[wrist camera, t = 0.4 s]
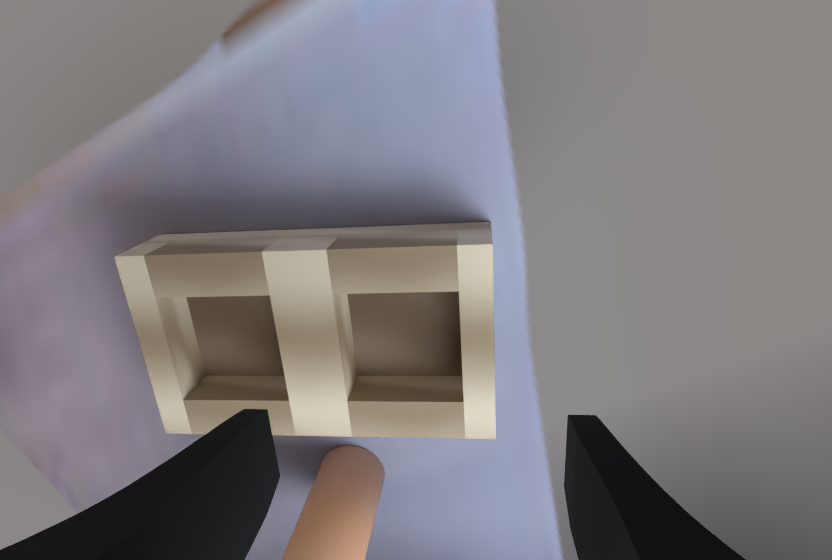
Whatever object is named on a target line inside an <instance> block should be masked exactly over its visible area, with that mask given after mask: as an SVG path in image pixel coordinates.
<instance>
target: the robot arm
mask: <svg viewBox="0 0 832 560" xmlns="http://www.w3.org/2000/svg"><path fill="white" fill-rule="evenodd" d="M279 478H280V473H279V468H278V463H277V457H276V452H275V447H274V442H273V436H272V431H271V426H270V420H269V415H268V410H267V409H243V410H241V411H240V412H238V413H236V414H235V415H233V416H232V417H230V418H229V419H227V420H226V421H224V422H223V423H221V424H220V425H218V426H217V427H216V428H214V429H213V430H211V431H210V432H208V433H207V434H206V435H204V436H203V437H201V438H200V439H198V440H197V441H195V442H194V443H193V444H191V445H190V446H188V447H187V448H185V449H184V450H182V451H181V452H180V453H178V454H177V455H175V456H174V457H172V458H171V459H169V460H168V461H166V462H165V463H163V464H161V465H160V466H158V467H157V468H155V469H154V470H152V471H150V472H149V473H147V474H146V475H144V476H143V477H141V478H140V479H138V480H136V481H135V482H133V483H132V484H130V485H128V486H127V487H125V488H123V489H122V490H120V491H118V492H117V493H115V494H113V495H111V496H110V497H108V498H106V499H104V500H102V501H101V502H99V503H97V504H95V505H93V506H91V507H90V508H88V509H86V510H84V511H82V512H80V513H78V514H76V515H74V516H73V517H70V518H68V519H66V520H64V521H62V522H60V523H58V524H56V525H54V526H52V527H50V528H47V529H45V530H43V531H41V532H39V533H37V534H35V535H33V536H31V537H29V538H27V539H24V540H22V541H20V542H18V543H16V544H13V545H11V546H8V547H6V548H4V549H1V550H0V560H244V559H245V557H246V556H247V554H248V552H249V550H250V548H251V546H252V544H253V542H254V540H255V538H256V536H257V534H258V532H259V530H260V528H261V526H262V523H263V521H264V519H265V517H266V515H267V512H268V510H269V507H270V504H271V501H272V499H273V496H274V493H275V490H276V487H277V484H278V481H279ZM564 489H565V495H566V501H567V509H568V515H569V521H570V528H571V532H572V536H573V540H574V544H575V547H576V551H577V555H578V559H579V560H745V559H744V558H743V557H741V556H740V555H739V554H737V553H736V552H735V551H733V550H732V549H731V548H730V547H728V546H727V545H726V544H725V543H723V542H722V541H721V540H720V539H718V538H717V537H716V536H715V535H713V534H712V533H711V532H710V531H709V530H707V529H706V528H705V527H703V526H702V525H701V524H700V523H699V522H698V521H697V520H695V519H694V518H693V517H692V516H691V515H690V514H689V513H687V512H686V511H685V510H684V509H683V508H682V507H681V506H680V505H679V504H678V503H677V502H676V501H675V500H674V499H673V498H671V497H670V496H669V495H668V494H667V493H666V492H665V491H664V490H663V489H662V488H661V487H660V486H659V485H658V484H657V483H656V482H655V481H654V480H653V479H652V478H651V477H650V475H649V474H648V473H647V472H646V471H645V470H644V469H643V468H642V467H641V466H640V465H639V464H638V463H637V462H636V461H635V460H634V458H633V457H631V455H630V454H629V453H628V452H627V451H626V450H625V449H624V447H623V446H622V445H621V444H620V443H619V441H617V439H616V438H615V437H614V436H613V435H612V433H611V432H610V431H609V430H608V429H607V427H606V426H605V425H604V424H603V423H602V422H601V420H600V419H599V418H598V417H597V416H595V415H568V423H567V443H566V462H565V482H564Z"/></svg>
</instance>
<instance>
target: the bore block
mask: <svg viewBox="0 0 832 560" xmlns="http://www.w3.org/2000/svg"><path fill="white" fill-rule="evenodd" d="M114 258H115V261H116V265H117V268H118V272H119V275H120V278H121V282H122V285H123V289H124V292H125V295H126V299H127V302H128V306H129V309H130V313H131V316H132V319H133V323H134V326H135V330H136V333H137V336H138V340H139V343H140V347H141V350H142V353H143V357H144V360H145V364H146V367H147V370H148V374H149V377H150V381H151V384H152V387H153V391H154V394H155V398H156V401H157V404H158V408H159V411H160V415H161V418H162V421H163V425H164V428H165V432H166V433H168V434H207V433H208V432H210V431H211V430H213V429H214V428H216V427H217V426H218V425H220V424H221V423H223V422H224V421H226V420H227V419H229V418H230V417H232V416H233V415H235V414H236V413H238V412H240V411H241V410H243V409H267V410H268V415H269V420H270V426H271V431H272V435H286V436H344V437H404V438H462V439H496V419H495V361H494V302H493V244H492V232H491V222H471V223H445V224H419V225H393V226H367V227H341V228H316V229H290V230H264V231H238V232H212V233H187V234H161V235H159V236H156V237H154V238H152V239H150V240H148V241H146V242H144V243H142V244H140V245H137V246H135V247H133V248H131V249H129V250H127V251H125V252H123V253H121V254H119V255H116V256H114Z"/></svg>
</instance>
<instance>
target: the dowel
mask: <svg viewBox="0 0 832 560" xmlns="http://www.w3.org/2000/svg"><path fill="white" fill-rule="evenodd" d="M384 477H385V472H384V468H383V465H382V463H381V462H380V460H379V459H378V458H377V457H376V456H375V455H374V454H373V453H371V452H370V451H368V450H366V449H364V448H361V447H358V446H352V445H345V446H340V447H336V448H334V449H332V450H331V451H329V452H328V453H327V454H326V455H325V457H324V459H323V461H322V464H321V466H320V468H319V471H318V473H317V476H316V478H315V480H314V483H313V485H312V488H311V490H310V493H309V495H308V497H307V500H306V502H305V505H304V507H303V509H302V512H301V514H300V517H299V519H298V522H297V524H296V526H295V529H294V531H293V534H292V536H291V538H290V541H289V543H288V546H287V548H286V550H285V553H284V555H283V558H282V560H365V557H366V553H367V549H368V545H369V541H370V536H371V532H372V528H373V524H374V520H375V515H376V511H377V507H378V503H379V499H380V495H381V490H382V486H383V482H384Z"/></svg>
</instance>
